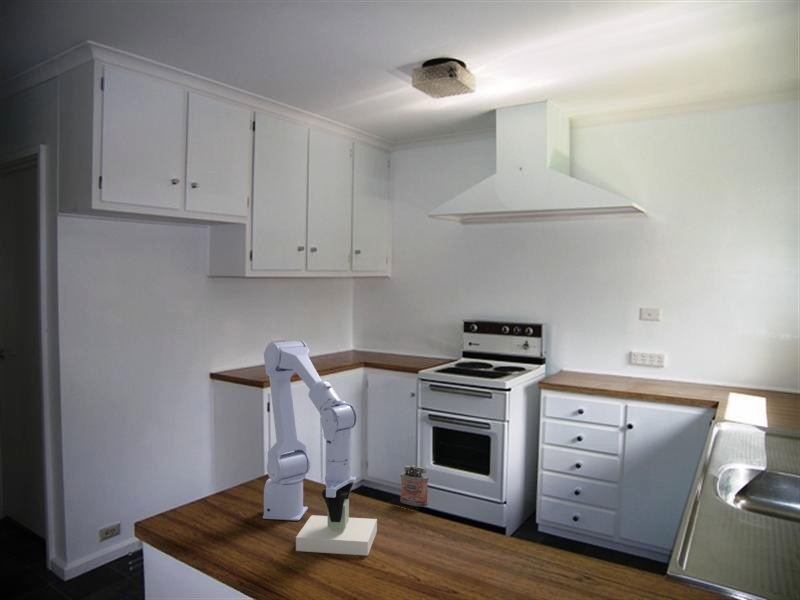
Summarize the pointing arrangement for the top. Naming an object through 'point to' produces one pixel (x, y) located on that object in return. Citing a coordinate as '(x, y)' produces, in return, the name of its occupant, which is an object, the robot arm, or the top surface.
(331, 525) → the green block
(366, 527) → the base plinth
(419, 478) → the lighter
